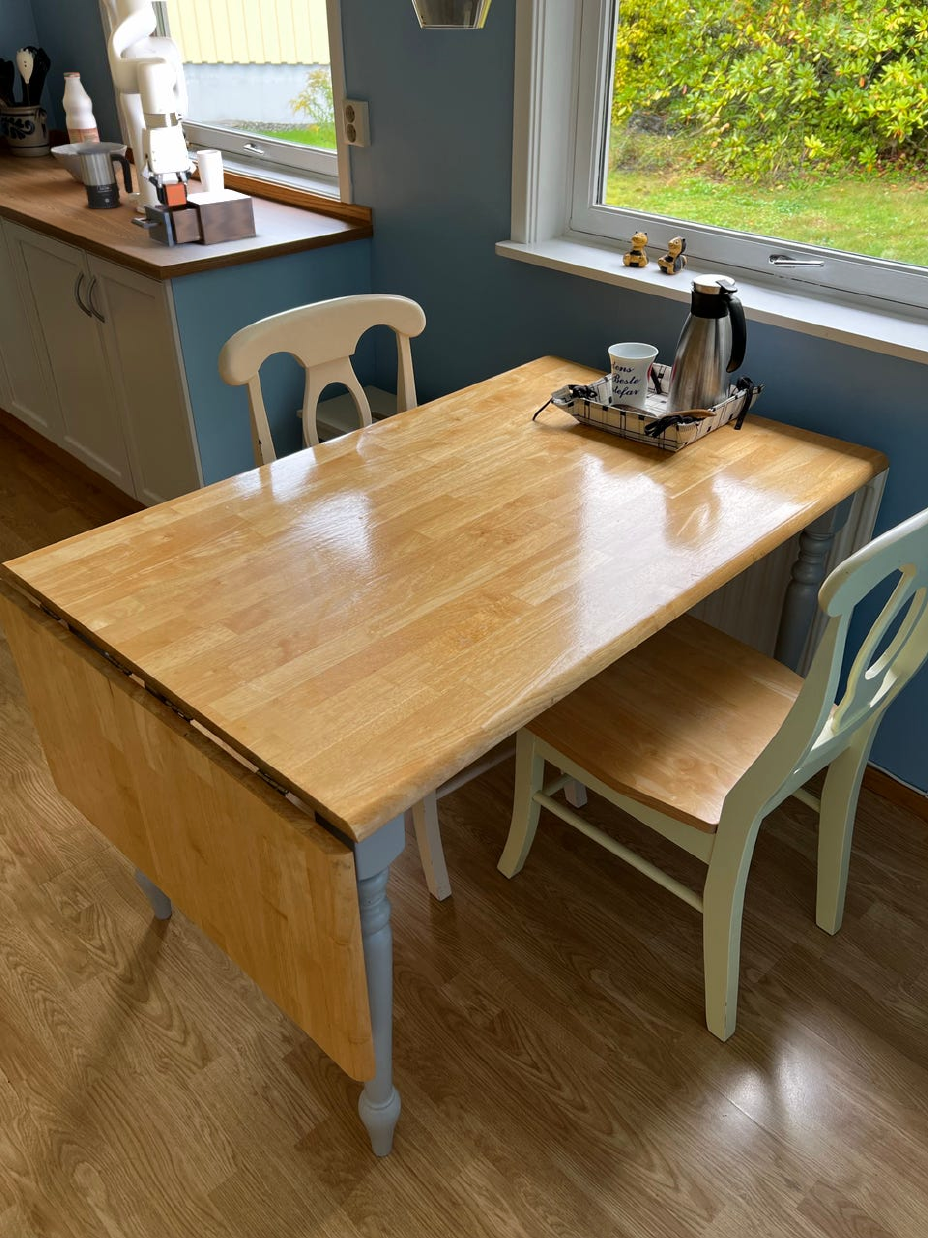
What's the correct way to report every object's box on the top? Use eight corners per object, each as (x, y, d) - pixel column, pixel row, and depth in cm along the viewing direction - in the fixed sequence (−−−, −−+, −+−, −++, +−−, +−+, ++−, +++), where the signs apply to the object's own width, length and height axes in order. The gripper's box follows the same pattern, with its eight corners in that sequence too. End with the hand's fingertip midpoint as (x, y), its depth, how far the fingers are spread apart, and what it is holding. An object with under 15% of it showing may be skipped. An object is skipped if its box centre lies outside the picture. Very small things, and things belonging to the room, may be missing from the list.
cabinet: (205, 245, 244) (199, 204, 239) (182, 235, 252) (176, 196, 247) (256, 236, 252) (251, 196, 247) (232, 227, 260) (227, 189, 255)
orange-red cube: (169, 206, 238) (165, 184, 235) (160, 203, 241) (157, 181, 238) (186, 203, 241) (183, 181, 238) (178, 200, 244) (174, 179, 241)
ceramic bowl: (147, 179, 313) (141, 145, 308) (90, 191, 297) (83, 156, 292) (101, 172, 323) (94, 139, 317) (43, 183, 307) (35, 148, 301)
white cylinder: (205, 206, 281) (198, 149, 272) (229, 206, 281) (222, 149, 273) (202, 211, 275) (194, 153, 267) (226, 211, 276) (219, 153, 267)
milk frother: (98, 210, 276) (87, 153, 267) (68, 202, 284) (57, 147, 276) (141, 202, 285) (132, 147, 276) (111, 195, 293) (101, 141, 285)
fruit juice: (71, 168, 328) (52, 74, 312) (80, 163, 336) (61, 71, 320) (99, 168, 329) (81, 74, 313) (107, 163, 336) (90, 71, 320)
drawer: (151, 249, 237) (145, 216, 232) (131, 240, 244) (125, 207, 239) (218, 238, 247) (214, 205, 242) (197, 229, 254) (193, 198, 249)
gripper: (186, 116, 237) (197, 195, 248) (120, 122, 228) (134, 204, 239) (200, 119, 233) (211, 200, 243) (133, 125, 224) (148, 209, 234)
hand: (173, 201), depth 241 cm, fingers closed on orange-red cube, 4 cm apart
